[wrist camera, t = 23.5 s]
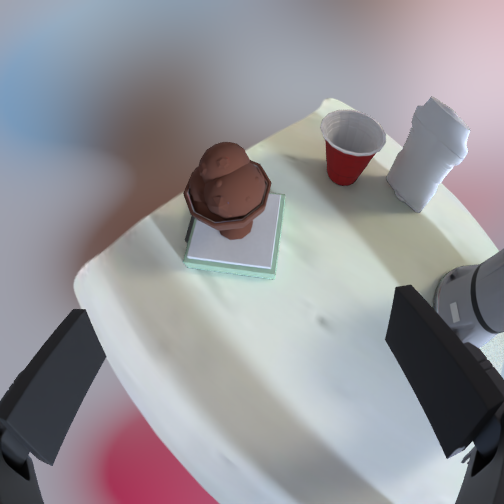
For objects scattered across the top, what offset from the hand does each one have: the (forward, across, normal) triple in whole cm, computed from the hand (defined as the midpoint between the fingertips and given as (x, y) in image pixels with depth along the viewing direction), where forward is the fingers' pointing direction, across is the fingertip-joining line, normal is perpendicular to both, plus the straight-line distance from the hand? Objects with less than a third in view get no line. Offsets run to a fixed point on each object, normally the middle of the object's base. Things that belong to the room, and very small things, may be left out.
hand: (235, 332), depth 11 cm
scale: (+35, -2, -7) cm, 36 cm away
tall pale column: (+39, +30, -3) cm, 49 cm away
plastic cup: (+43, +18, 0) cm, 46 cm away
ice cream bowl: (+33, -2, -5) cm, 33 cm away
